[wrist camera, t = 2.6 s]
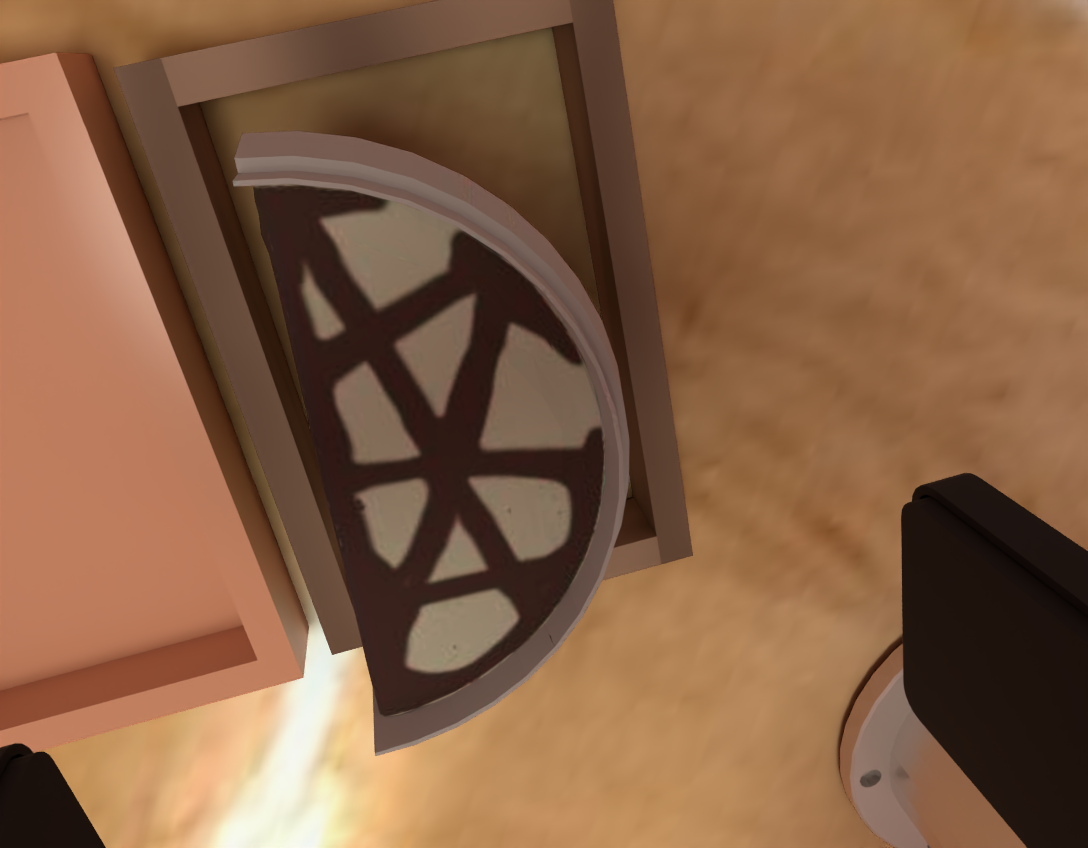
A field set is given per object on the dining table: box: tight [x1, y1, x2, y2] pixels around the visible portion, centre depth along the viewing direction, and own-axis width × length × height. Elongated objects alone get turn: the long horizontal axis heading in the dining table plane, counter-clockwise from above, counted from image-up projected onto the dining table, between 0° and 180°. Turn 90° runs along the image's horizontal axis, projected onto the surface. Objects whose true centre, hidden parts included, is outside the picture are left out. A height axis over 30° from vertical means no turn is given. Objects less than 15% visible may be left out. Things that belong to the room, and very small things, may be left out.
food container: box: [233, 131, 629, 756], centre depth 20 cm, size 12×6×10 cm, turn 7°
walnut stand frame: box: [114, 0, 693, 655], centre depth 23 cm, size 11×16×2 cm
